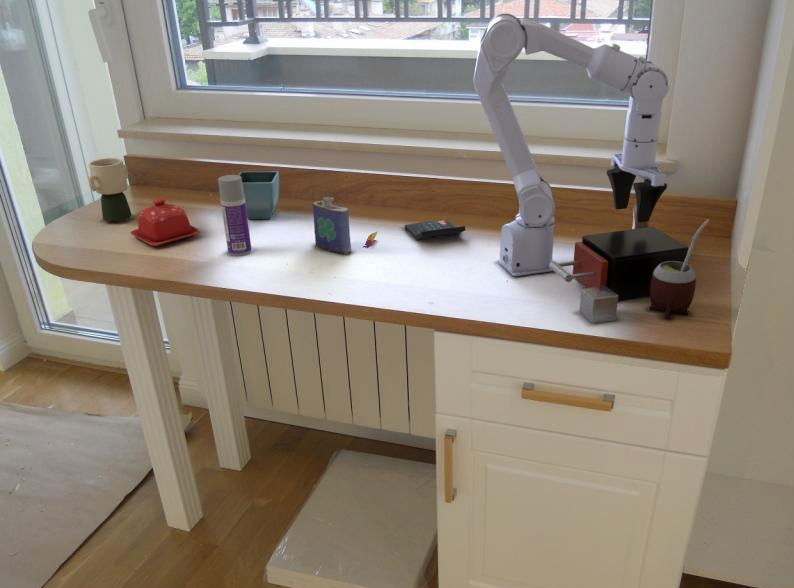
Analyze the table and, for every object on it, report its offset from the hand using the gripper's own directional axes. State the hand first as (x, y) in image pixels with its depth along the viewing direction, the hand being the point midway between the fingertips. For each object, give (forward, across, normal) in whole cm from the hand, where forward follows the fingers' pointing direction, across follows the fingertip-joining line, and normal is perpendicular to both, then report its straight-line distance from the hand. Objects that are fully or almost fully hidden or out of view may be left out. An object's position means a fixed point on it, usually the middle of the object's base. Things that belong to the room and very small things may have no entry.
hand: (631, 214), depth 146 cm
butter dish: (+11, +48, +82) cm, 95 cm away
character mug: (+11, +64, +91) cm, 112 cm away
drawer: (+9, -7, +9) cm, 15 cm away
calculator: (+11, +30, +28) cm, 42 cm away
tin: (+10, +6, -6) cm, 14 cm away
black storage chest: (+10, -8, +4) cm, 13 cm away
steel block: (+10, -17, +15) cm, 25 cm away
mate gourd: (+10, -19, +3) cm, 22 cm away
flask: (+11, +29, +50) cm, 59 cm away
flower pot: (+11, +55, +60) cm, 82 cm away
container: (+11, +34, +68) cm, 77 cm away
